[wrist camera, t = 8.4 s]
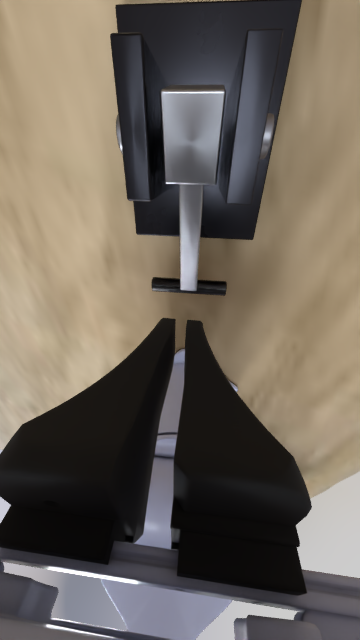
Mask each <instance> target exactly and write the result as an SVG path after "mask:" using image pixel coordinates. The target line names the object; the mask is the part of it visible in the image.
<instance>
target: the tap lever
mask: <svg viewBox="0 0 360 640" xmlns="http://www.w3.org/2000/svg"><path fill="white" fill-rule="evenodd" d="M225 98H226V90H225V87H224V85H170V86H168V87H166V88H164V89H162V90H160V107H161V125H162V144H163V162H164V180H165V183H166V184H179V209H180V279H178V278H161V277H153V279H152V290H153V291H160V292H175V293H191V294H206V295H221V296H225V294H226V288H227V283H226V281H211V280H197V279H198V264H199V248H200V233H201V218H202V203H203V188H204V185H216V183H217V174H218V165H219V155H220V146H221V136H222V127H223V117H224V108H225Z"/></svg>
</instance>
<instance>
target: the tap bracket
mask: <svg viewBox="0 0 360 640" xmlns="http://www.w3.org/2000/svg"><path fill="white" fill-rule="evenodd" d="M301 3H302V0H242V1H212V2H182V3H152V4H122V5H116V18H117V29H118V33H112V34H111V36H110V39H111V49H112V58H113V68H114V77H115V86H116V96H117V105H118V115H117V120H116V132H117V139H118V144H119V148H120V151H121V153H122V155H123V162H124V171H125V181H126V190H127V199H128V200H129V201H133V202H134V212H135V223H136V233H137V234H138V235H158V236H180V209H179V184H166V183H165V180H164V162H163V144H162V125H161V107H160V90H162V89H164V88H166V87H168V86H170V85H224V87H225V90H226V98H225V108H224V117H223V127H222V136H221V146H220V155H219V165H218V174H217V183H216V185H204V188H203V203H202V218H201V233H200V237H201V238H223V239H245V240H253V238H254V233H255V228H256V223H257V218H258V213H259V209H260V204H261V199H262V194H263V189H264V184H265V179H266V174H267V169H268V164H269V160H270V155H271V150H272V145H273V140H274V135H275V130H276V125H277V120H278V115H279V111H280V106H281V101H282V96H283V91H284V86H285V81H286V76H287V71H288V67H289V62H290V57H291V52H292V47H293V42H294V37H295V32H296V27H297V22H298V18H299V13H300V8H301Z"/></svg>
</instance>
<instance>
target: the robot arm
mask: <svg viewBox="0 0 360 640" xmlns="http://www.w3.org/2000/svg"><path fill="white" fill-rule="evenodd" d="M237 391H238V388H237V386H235V385H234V384H233V383H231V382H230V381H228V379H227V378H226V376H225V375H224V373H223V371H222V370H221V368H220V366H219V364H218V362H217V360H216V359H215V356H214V354H213V352H212V350H211V348H210V346H209V343H208V341H207V338H206V335H205V332H204V329H203V323H202V322H201V321H197V320H187V325H186V338H185V349H181V350H179V351H178V352H177V353H176V354H175V319H170V318H162V319H161V320H160V321H159V323H158V324H157V325H156V326H155V328H154V329H153V330H152V331H151V333H150V334H149V335H148V336H147V337H146V338H145V339H144V340H143V342H142V343H141V344H140V345H139V346H138V347H137V348H136V349H135V350H134V351H133V352H132V353H131V354H130V355H129V356H128V357H127V358H126V359H125V360H123V361H122V362H121V363H120V364H119V365H118V366H116V367H115V368H114V369H113V370H112V371H110V372H109V373H108V374H106V375H105V376H104V377H102V378H101V379H100V380H98V381H97V382H96V383H94V384H93V385H91V386H90V387H88V388H87V389H85V390H84V391H82V392H81V393H79V394H77V395H76V396H74V397H73V398H71V399H69V400H68V401H66V402H64V403H62V404H61V405H59V406H57V407H55V408H53V409H51V410H50V411H48V412H46V413H44V414H42V415H40V416H38V417H36V418H34V419H32V420H30V421H28V422H26V423H24V424H22V426H21V427H20V428H19V429H18V431H17V432H16V433H15V434H14V436H13V437H12V438H11V440H10V441H9V442H8V444H7V445H6V447H5V448H4V450H3V451H2V452H1V454H0V497H2V498H3V499H4V500H6V501H7V502H8V503H9V504H11V507H10V508H9V510H8V512H7V514H6V515H5V517H4V519H3V520H2V522H1V523H0V640H195V639H196V638H197V637H198V636H199V634H200V633H201V632H202V631H203V630H204V629H205V628H206V627H207V626H208V625H209V624H210V623H211V622H212V621H214V619H216V618H217V617H218V616H219V615H220V614H221V613H222V612H223V611H224V610H225V609H226V607H228V605H229V604H230V603H231V602H232V600H234V601H241V602H246V603H252V604H258V605H264V606H270V607H276V608H282V609H288V610H294V611H300V612H297V614H296V615H295V617H294V620H287V619H279V618H271V617H262V616H254V615H248V616H247V618H243V619H242V618H236V619H235V621H234V633H235V640H360V578H354V577H348V576H341V575H335V574H328V573H322V572H315V571H309V570H302V569H301V565H300V560H299V556H298V551H297V547H299V546H300V545H299V544H300V542H299V538H298V533H297V529H296V524H298V523H299V522H300V521H301V520H302V519H303V518H304V517H306V516H307V514H308V513H309V511H310V510H311V507H312V506H311V501H310V497H309V494H308V490H307V488H306V485H305V482H304V480H303V477H302V475H301V473H300V470H299V468H298V466H297V464H296V461H295V459H294V457H293V456H292V455H291V454H290V453H289V452H288V451H287V450H286V449H285V448H284V447H283V446H282V445H281V444H280V443H279V442H278V441H277V440H276V439H275V437H274V436H273V435H272V434H271V433H270V432H269V431H268V430H267V429H266V428H265V427H264V426H263V424H262V423H261V422H260V421H259V420H258V419H257V418H256V417H255V415H254V414H253V413H252V412H251V410H250V409H249V408H248V407H247V405H246V404H245V403H244V402H243V400H242V399H241V398H240V397H239V395H238V394H237ZM3 562H7V563H13V564H19V565H26V566H31V567H37V568H43V569H49V570H55V571H61V572H67V573H73V574H79V575H85V576H91V577H97V578H100V580H101V582H102V584H103V586H104V588H105V590H106V592H107V593H108V595H109V597H110V599H111V600H112V602H113V604H114V605H115V607H116V609H117V610H118V612H119V613H120V615H121V617H122V619H123V621H124V623H125V625H126V627H127V631H125V630H119V629H113V628H108V627H102V626H96V625H91V624H84V623H79V622H74V621H68V620H62V619H57V618H51V612H52V609H53V606H54V603H55V601H56V598H57V595H58V588H57V587H53V586H50V585H46V584H43V583H40V582H37V581H35V580H33V579H31V578H28V577H23V576H19V575H14V574H9V573H5V572H4V565H3Z"/></svg>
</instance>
